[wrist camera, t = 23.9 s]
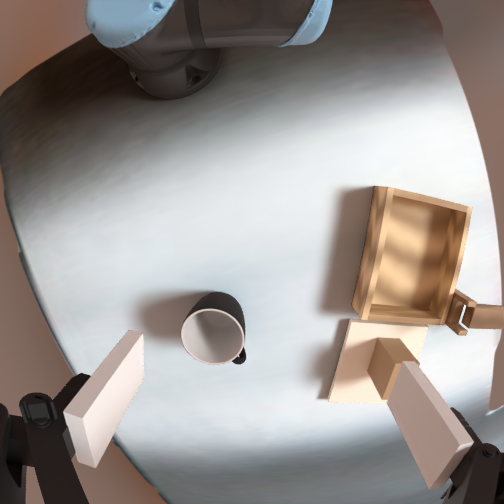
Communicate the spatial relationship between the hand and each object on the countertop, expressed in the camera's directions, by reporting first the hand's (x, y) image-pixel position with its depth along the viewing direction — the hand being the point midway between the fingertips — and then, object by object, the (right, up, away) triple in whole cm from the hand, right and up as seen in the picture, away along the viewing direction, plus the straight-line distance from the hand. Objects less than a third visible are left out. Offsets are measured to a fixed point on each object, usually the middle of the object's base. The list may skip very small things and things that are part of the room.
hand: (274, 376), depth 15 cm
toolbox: (+26, +6, +36) cm, 44 cm away
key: (+40, -5, +30) cm, 50 cm away
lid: (+22, -15, +39) cm, 47 cm away
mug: (-5, -5, +39) cm, 40 cm away
